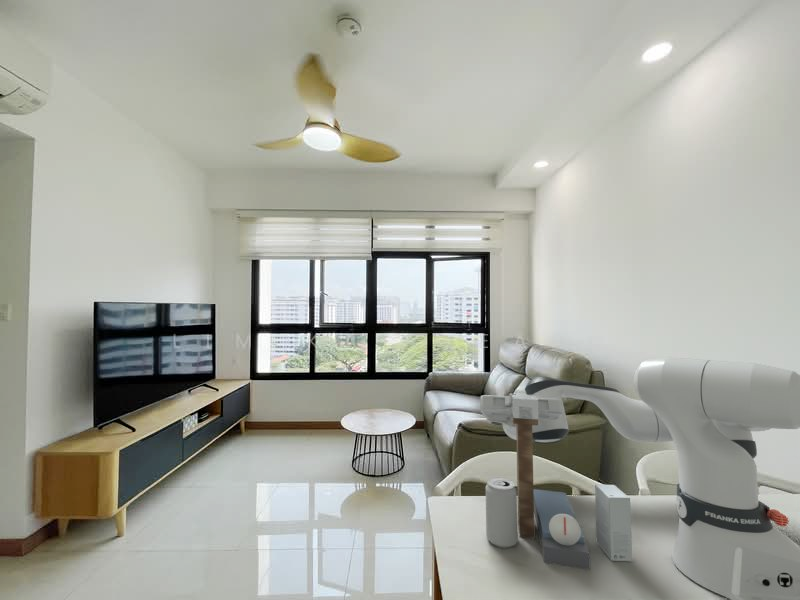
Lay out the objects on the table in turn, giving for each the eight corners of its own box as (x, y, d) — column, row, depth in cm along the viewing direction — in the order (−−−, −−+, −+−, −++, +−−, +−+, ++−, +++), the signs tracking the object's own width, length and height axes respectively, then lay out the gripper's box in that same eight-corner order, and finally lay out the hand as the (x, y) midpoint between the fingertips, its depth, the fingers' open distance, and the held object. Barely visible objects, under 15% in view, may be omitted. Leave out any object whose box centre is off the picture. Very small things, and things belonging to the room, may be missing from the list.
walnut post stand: (536, 522, 82) (533, 408, 84) (540, 546, 74) (538, 418, 75) (513, 519, 84) (511, 406, 85) (515, 542, 75) (513, 416, 76)
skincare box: (633, 562, 69) (631, 498, 69) (610, 561, 69) (608, 497, 70) (616, 542, 75) (614, 484, 75) (595, 541, 75) (593, 483, 76)
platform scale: (566, 509, 88) (566, 472, 88) (589, 569, 67) (588, 521, 67) (532, 505, 90) (531, 469, 90) (544, 562, 69) (543, 515, 69)
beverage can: (519, 552, 72) (518, 490, 72) (486, 548, 73) (485, 487, 74) (515, 533, 78) (514, 477, 79) (485, 530, 79) (484, 474, 80)
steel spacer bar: (530, 400, 92) (530, 384, 92) (538, 419, 74) (538, 400, 74) (510, 399, 93) (509, 383, 93) (513, 417, 75) (513, 398, 76)
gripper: (560, 428, 94) (568, 413, 83) (481, 422, 100) (479, 407, 88) (558, 404, 98) (565, 386, 87) (481, 400, 103) (479, 383, 92)
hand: (521, 397), depth 88 cm, fingers closed on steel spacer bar, 2 cm apart
